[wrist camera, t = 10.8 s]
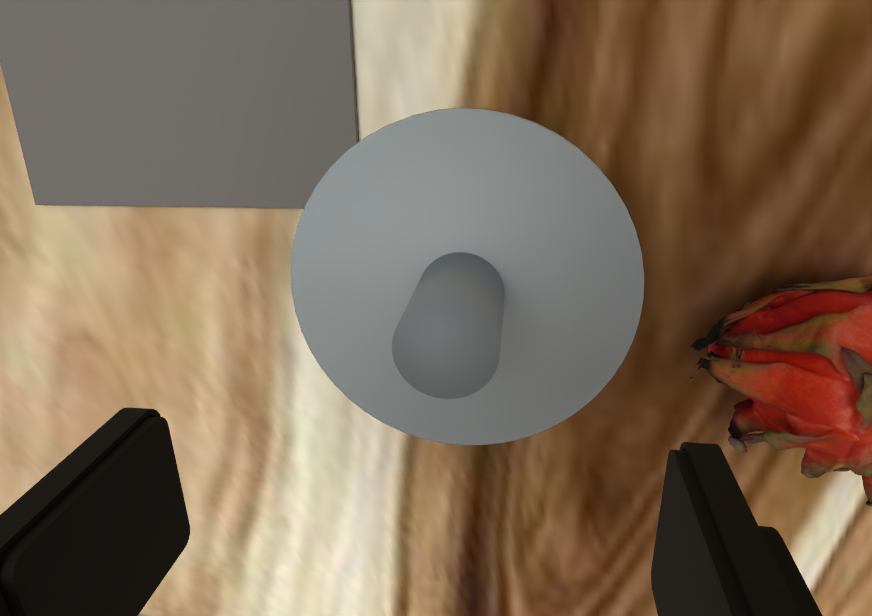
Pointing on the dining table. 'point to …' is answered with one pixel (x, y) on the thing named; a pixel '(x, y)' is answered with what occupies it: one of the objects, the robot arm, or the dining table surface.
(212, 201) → the mat
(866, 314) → the dragon fruit
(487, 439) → the lid
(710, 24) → the dining table surface
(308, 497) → the dining table surface
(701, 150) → the dining table surface
